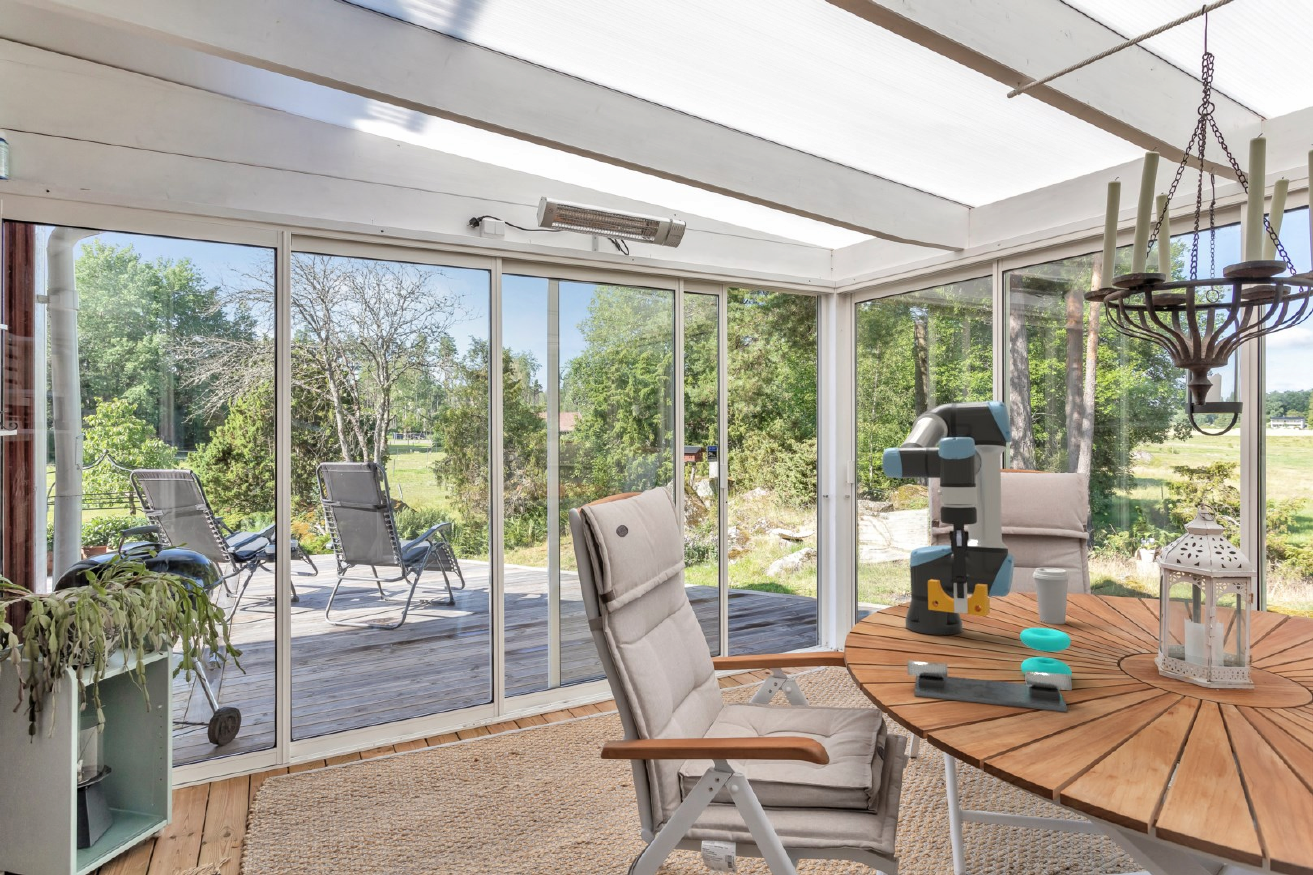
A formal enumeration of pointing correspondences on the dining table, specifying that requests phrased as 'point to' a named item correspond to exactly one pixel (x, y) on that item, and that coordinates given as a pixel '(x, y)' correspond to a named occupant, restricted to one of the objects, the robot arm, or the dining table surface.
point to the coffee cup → (1051, 594)
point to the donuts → (1045, 642)
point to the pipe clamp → (947, 602)
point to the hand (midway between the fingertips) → (960, 609)
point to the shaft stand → (991, 688)
